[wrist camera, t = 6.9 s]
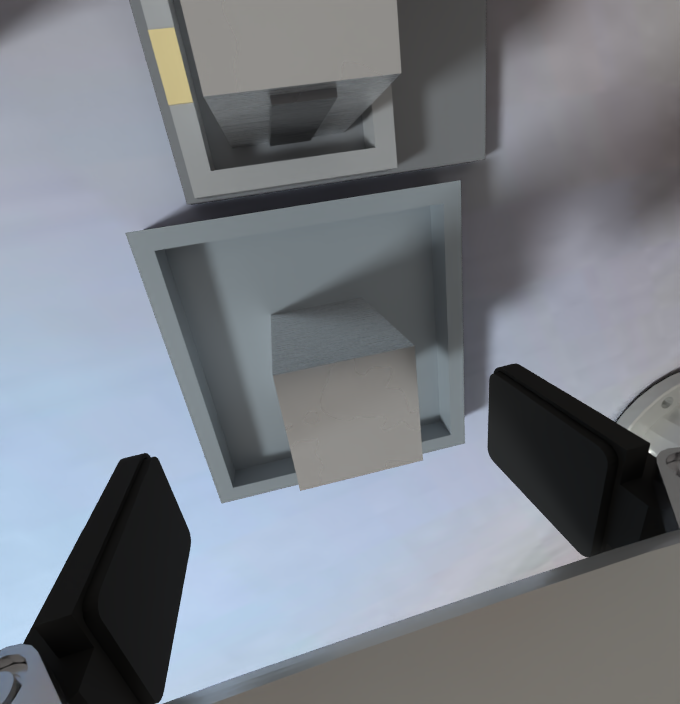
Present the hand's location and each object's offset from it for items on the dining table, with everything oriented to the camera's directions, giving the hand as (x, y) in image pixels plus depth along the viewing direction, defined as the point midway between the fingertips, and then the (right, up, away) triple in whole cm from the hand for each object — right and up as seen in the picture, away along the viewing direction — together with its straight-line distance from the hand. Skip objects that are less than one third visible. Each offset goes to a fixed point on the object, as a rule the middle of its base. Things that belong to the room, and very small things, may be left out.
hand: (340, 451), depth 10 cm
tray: (-1, +3, +9) cm, 9 cm away
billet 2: (-1, +3, +8) cm, 9 cm away
